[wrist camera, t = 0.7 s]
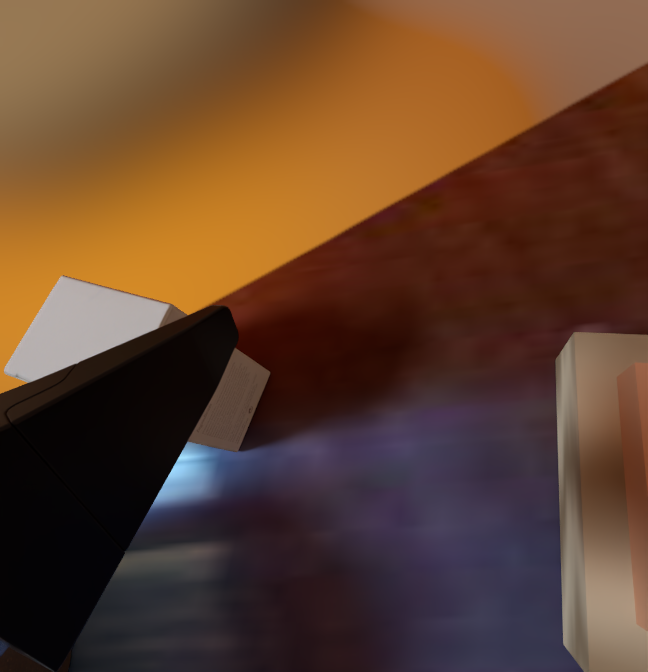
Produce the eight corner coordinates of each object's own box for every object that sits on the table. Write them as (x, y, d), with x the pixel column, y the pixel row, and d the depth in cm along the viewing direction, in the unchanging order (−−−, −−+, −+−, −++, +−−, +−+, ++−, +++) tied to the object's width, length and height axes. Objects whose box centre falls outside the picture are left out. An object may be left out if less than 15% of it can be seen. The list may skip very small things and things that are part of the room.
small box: (273, 373, 27) (175, 302, 17) (239, 455, 25) (111, 426, 16) (183, 343, 30) (59, 270, 21) (147, 415, 28) (-3, 371, 19)
